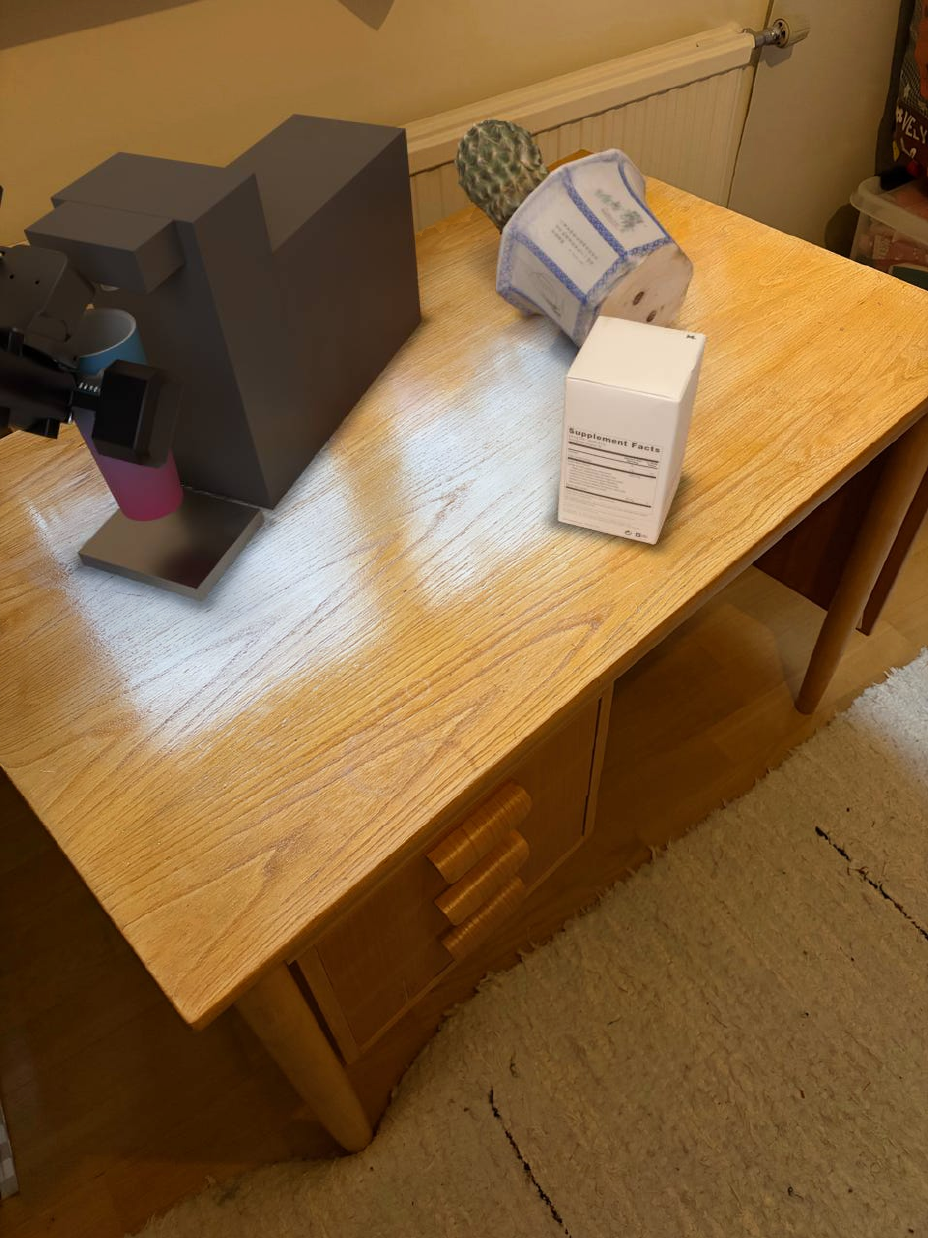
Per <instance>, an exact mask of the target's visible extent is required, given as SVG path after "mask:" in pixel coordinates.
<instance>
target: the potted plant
mask: <svg viewBox="0 0 928 1238" xmlns="http://www.w3.org/2000/svg"><path fill="white" fill-rule="evenodd" d="M453 162H454V164H455V169H456V170H457V172H458V181H457V183H458V185H459V186H460V188H461V189H463V191H464V192H465V195H466V196H467V199H468V200H469V201H470V203H473V204H474V205H475V206H476V207H477V208H478V209H480V210H481V211H483V212H484V213H485V214H486V216H487V218H488V219H490V221H492V223H493V225H494V226H495V228H496V230H498V231H499V235H501V237H500V241H499V246H498V249H497V261H496V267H495V280H494V281H495V282H494V288H495V289H494V290H495V292H496V294H497V295H498V296H499V297H501V298H502V300H503V301H505V303H507V304H510V305H511V306H513V307H514V308H515V309H516V310H518V311H519V312H520V313H522V314H524V315H526V316H533V315H536V314H539V315H543V316H545V317H546V318H548V319H549V320H550V321H551V322H552V324H554V325H555V326H556V327H557V328H559V329H560V330H562V331H563V333H565V335H567V336H568V337H569V339H570V340H571V341H572V342H573V344H574V345H575V346H576V347H577V348H578V349H579V350H580V349H581V347H582V346H583V344H584V342H585V340H586V338H587V337H588V335H589V333H590V331H591V329H592V328H593V326H594V324H595V322H596V320H597V319H598V317H599V316H604V317H613V318H619V319H624V320H629V321H634V322H638V323H643V324H648V325H653V326H659V327H664V328H666V327H668V326H669V325H670V324H671V323H673V322H674V321H675V319H677V316H678V314H679V312H680V311H681V309H682V306H683V305H684V302H685V300H686V296H687V293H688V290H689V286H690V284H691V282H692V279H693V276H694V264H693V263H692V261H691V260H690V257H688V255H687V254H686V252H685V251H684V250H683V249H682V248H681V247H680V245H679V244H678V243H677V241H676V240H675V239H674V238H673V236H672V235H671V234H670V232H669V231H668V230H667V229H666V228H665V227H664V225H663V224H662V223H661V222H660V220H658V218H657V217H656V216H655V213H654V212H653V211H652V209H651V207H650V206H649V205H648V201H647V199H646V191H647V181H648V180H647V179H646V177H645V176H644V175H643V174H642V172H641V171H640V170H639V169H638V167H637V166H636V165H635V163H634V162H633V161H632V160H631V159H630V158H629V156H628V155H627V154H626V153H625V152H623V151H622V149H617V148H609V149H607V150H604V151H601V152H596V153H592V154H589V155H587V156H586V155H585V156H584V157H581V158H578V159H575V160H572V161H569V162H566V163H564V164H562V165H560V166H558V167H556V168H555V169H554V170H552V171H551V172H550V171H549V168H548V167H547V166H546V164H545V162H544V158H543V155H542V152H541V150H540V148H539V146H538V144H537V143H535V142H533V140H532V136H531V131H529V130H527V129H524V128H523V126H518V125H517V124H516V123H514V122H511V121H509V120H507V119H505V120H498V119H497V118H491V117H488V118H486V119H485V120H482V121H480V122H478V123H476V122H473V124H472V126H471V128H470V129H468V130H464V133H463V138H462V139H461V140H460V141H459V142H458V144H457V153H456V156H455V158H454V161H453Z"/></svg>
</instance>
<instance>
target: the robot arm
mask: <svg viewBox="0 0 928 1238" xmlns="http://www.w3.org/2000/svg"><path fill="white" fill-rule="evenodd" d="M3 194H4V188H3V186H2V184H0V207H2V200H3ZM95 295H96V289H95V287H94V286H93V285H92V283H91V282H90V281H89V280H88V279H87V278H86V277H85V276H84V275H83V274H82V273H81V271H80V270H79V269H78V268H77V267H76V266H75V265H74V264H73V263H72V262H71V261H70V259H69V258H68V257H67V256H66V255H65V254H64V253H62V252H60V251H55V250H50V249H45V248H40V247H35V246H30V244H23V243H19V244H15V245H13V246H10V247H9V246H5V245H0V429H3V430H9V429H12V430H18V431H21V432H24V433H28V434H32V435H36V436H39V437H41V438H47V439H51V440H56V441H58V438H59V432H60V427H61V424H64V425H68V426H72V424H73V423H74V420H73V419H74V410H71V408H72V406H74V407H78V408H82V409H86V410H90V411H94V417H93V418H94V419H95V420H94V425H93V430H92V435H91V439H92V442H93V444H94V446H95V448H96V451H97V453H98V454H99V455H103V456H107V457H110V458H114V459H118V460H122V461H125V462H129V463H133V464H136V465H140V466H145V467H151V468H156V469H159V468H160V467H162V466H163V465H165V464H166V463H167V461H168V457H169V452H170V447H171V442H172V437H173V433H174V428H175V423H176V418H177V413H178V408H179V404H180V399H181V394H182V389H183V384H182V382H181V380H180V378H179V377H178V375H176V374H173V373H170V372H167V371H165V370H162V369H159V368H154V367H150V366H146V365H141V364H137V363H133V362H128V361H124V360H120V359H116V360H115V361H114V362H113V363H112V364H110V365H109V366H108V367H107V368H103V369H101V370H100V371H99V373H98V374H97V375H96V376H94V375H90V374H86V373H82V372H78V371H73V370H71V368H77V366H78V361H79V356H80V350H81V349H80V348H77V347H74V346H71V345H68V344H65V342H66V341H68V340H69V339H70V338H71V337H72V336H73V334H74V332H75V330H76V328H77V326H78V324H79V322H80V320H81V318H82V316H83V314H84V312H85V310H86V309H88V306H89V305H92V302H93V300H94V298H95ZM75 387H77V388H81V389H86V390H90V391H94V392H97V393H98V396H95V395H91V394H87V393H83V392H79V391H75Z"/></svg>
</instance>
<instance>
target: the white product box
mask: <svg viewBox="0 0 928 1238" xmlns="http://www.w3.org/2000/svg"><path fill="white" fill-rule="evenodd" d="M706 342H707V335H706V334H705V333H700V332H696V331H695V332H694V331H687V330H681V329H675V328H670V327H659V326H653V325H648V324H643V323H638V322H634V321H629V320H624V319H619V318H613V317H604V316H599V317H598V319H597V320H596V322H595V324H594V326H593V328H592V329H591V331H590V333H589V335H588V337H587V338H586V340H585V342H584V344H583V346H582V347H581V349H580V348H579V351H578V353H577V355H576V356H575V358H574V360H573V362H572V364H571V366H570V367H569V370H568V371H567V372H566V375H565V376H564V392H563V393H564V397H563V412H562V413H563V414H562V432H561V448H560V449H561V450H560V465H559V466H560V469H559V484H558V485H559V487H558V502H557V503H558V507H557V521H558V522H559V523H564V524H566V525H567V524H568V525H571V526H576V527H580V528H585V529H589V530H593V531H596V532H600V533H605V534H608V535H613V536H617V537H621V538H626V539H629V540H633V541H638V542H642V543H646V544H649V545H656V544H657V542H658V540H659V537H660V534H661V532H662V530H663V526H664V524H665V521H666V520H667V519H666V518H667V516H668V514H669V512H670V508H671V505H672V503H673V500H674V497H675V495H676V492H677V489H678V487H679V485H680V481H681V476H682V471H683V466H684V460H685V455H686V450H687V443H688V439H689V433H690V427H691V422H692V417H693V411H694V406H695V402H696V396H697V390H698V384H699V380H700V374H701V370H702V363H703V359H704V352H705V347H706Z"/></svg>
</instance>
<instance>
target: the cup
mask: <svg viewBox="0 0 928 1238" xmlns="http://www.w3.org/2000/svg"><path fill="white" fill-rule="evenodd" d="M65 344H68V345H71V346H74V347H77V348H80V349H81V350H80V356H79V361H78V366H77V368H71V370H73V371H78V372H82V373H86V374H90V375H94V376H96V375H97V374H98V373H99V371H100V370H101V369H103V368H107V367H108V366H109V365H110V364H112V363H113V362H114V361H115V360H116V359H120V360H124V361H128V362H133V363H137V364H141V365H146V366H148V364H147V360H146V356H145V353H144V349H143V346H142V342H141V338H140V335H139V331H138V327H137V324H136V321H135V318H134V317H133V316H132V315H131V314H129V313H127V312H126V311H123V310H119V309H114V308H93V307H91V308H86V310H85V312H84V314H83V316H82V318H81V320H80V322H79V324H78V326H77V328H76V330H75V332H74V334H73V336H72V337H71V338H70V339H69V340H68V341H66V342H65ZM75 391H79V392H83V393H87V394H91V395H95V396H98V393H97V392H94V391H90V390H86V389H81V388H77V387H75ZM71 410H74V419H73V423H74V424H75V426H76V427H77V429H78V432H79V433H80V435H81V437H82V439H83V441H84V444H85V445H86V447H87V448H88V450H89V453H90V455H91V456H92V458H93V460H94V462H95V464H96V465H97V468H98V470H99V472H100V473H101V476H102V477H103V479H104V481H105V483H106V485H107V487H108V489H109V490H110V493H111V494H112V496H113V498H114V500H115V502H116V504H117V506H118V509H119V508H120V510H121V512H122V513H123V515H124V516H126V517H127V518H129V519H131V520H135V521H152V520H157V519H160V518H163V517H165V516H167V515H169V514H171V513H172V512H173V511H175V510H176V509H177V508H178V507H179V506H180V504H181V502H182V500H183V491H182V488H183V487H182V485H181V484H180V480H179V477H178V473H177V469H176V466H175V462H174V458H173V455H172V451H171V448H170V452H169V457H168V461H167V463H166V464H165V465H163V466H162V467H160V468H159V469H156V468H151V467H145V466H140V465H136V464H133V463H129V462H125V461H122V460H118V459H114V458H110V457H107V456H103V455H99V454H98V453H97V451H96V448H95V446H94V444H93V442H92V439H91V435H92V430H93V425H94V420H95V419H94V418H93V417H94V411H90V410H86V409H82V408H78V407H74V406H72V408H71Z"/></svg>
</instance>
